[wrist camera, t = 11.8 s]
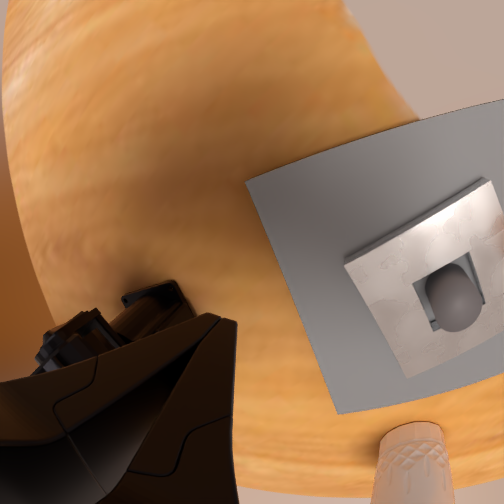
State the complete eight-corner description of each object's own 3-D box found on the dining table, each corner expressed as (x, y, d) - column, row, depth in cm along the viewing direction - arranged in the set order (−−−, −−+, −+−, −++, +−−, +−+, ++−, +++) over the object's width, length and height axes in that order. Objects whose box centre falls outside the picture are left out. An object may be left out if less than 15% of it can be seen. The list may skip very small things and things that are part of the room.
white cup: (445, 407, 21) (457, 500, 12) (449, 446, 23) (454, 524, 14) (366, 429, 24) (356, 520, 15) (382, 464, 26) (374, 540, 17)
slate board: (339, 404, 24) (333, 441, 20) (250, 178, 19) (226, 190, 15) (545, 343, 16) (563, 373, 12) (527, 94, 11) (561, 90, 8)
